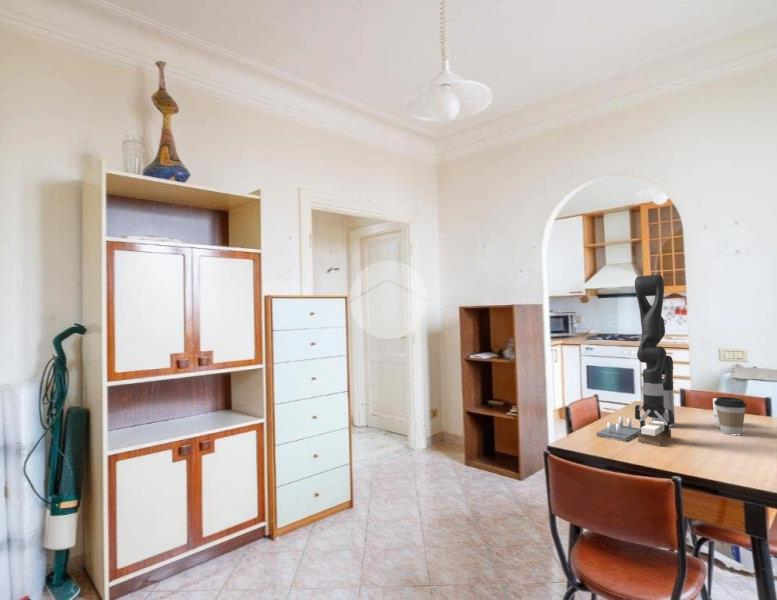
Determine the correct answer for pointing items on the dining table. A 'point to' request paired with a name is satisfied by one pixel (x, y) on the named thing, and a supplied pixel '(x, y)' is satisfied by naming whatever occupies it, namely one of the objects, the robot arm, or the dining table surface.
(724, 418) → the coffee cup
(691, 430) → the dining table surface
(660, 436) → the rails
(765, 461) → the dining table surface
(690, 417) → the dining table surface
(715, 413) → the ink box
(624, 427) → the peg rack
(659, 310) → the robot arm
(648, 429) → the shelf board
